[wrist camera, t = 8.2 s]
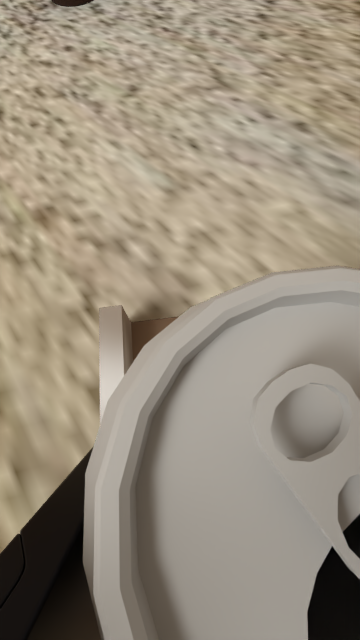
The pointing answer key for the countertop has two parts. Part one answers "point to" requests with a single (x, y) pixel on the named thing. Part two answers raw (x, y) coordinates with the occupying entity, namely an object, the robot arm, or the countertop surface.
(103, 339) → the floor track
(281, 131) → the countertop surface
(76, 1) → the coffee mug
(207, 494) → the can
